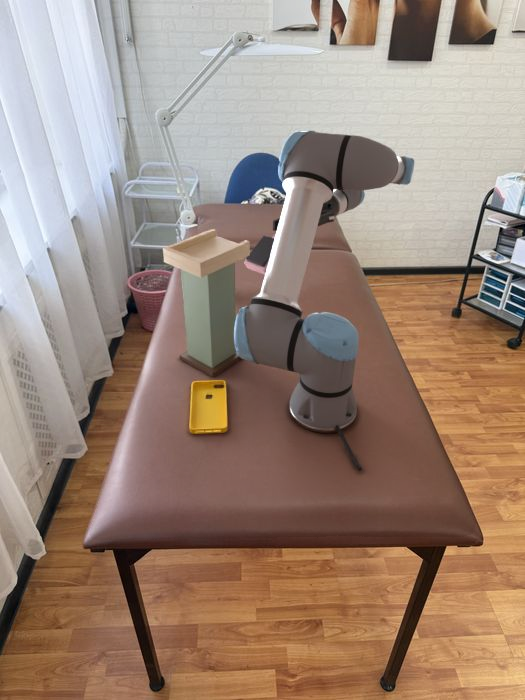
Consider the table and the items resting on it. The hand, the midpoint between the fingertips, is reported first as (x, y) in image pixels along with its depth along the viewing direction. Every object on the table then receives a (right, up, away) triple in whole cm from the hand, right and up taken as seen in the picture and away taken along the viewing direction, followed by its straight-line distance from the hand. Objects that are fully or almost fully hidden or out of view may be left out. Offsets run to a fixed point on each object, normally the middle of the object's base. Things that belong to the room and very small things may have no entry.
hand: (279, 227), depth 135 cm
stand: (-18, -35, -2) cm, 39 cm away
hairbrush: (0, -4, +2) cm, 5 cm away
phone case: (-17, -46, -18) cm, 52 cm away
